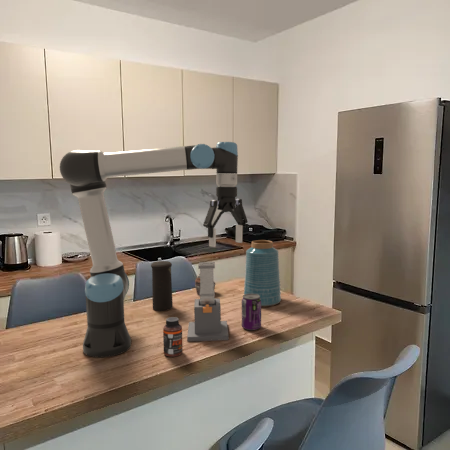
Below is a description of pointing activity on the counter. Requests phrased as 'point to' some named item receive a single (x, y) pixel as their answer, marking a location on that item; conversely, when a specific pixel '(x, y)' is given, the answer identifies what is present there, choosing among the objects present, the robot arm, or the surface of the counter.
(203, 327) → the stand
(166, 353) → the supplement bottle
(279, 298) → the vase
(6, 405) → the counter surface
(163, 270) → the container
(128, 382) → the counter surface
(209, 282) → the column
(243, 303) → the beverage can
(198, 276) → the cupcake
